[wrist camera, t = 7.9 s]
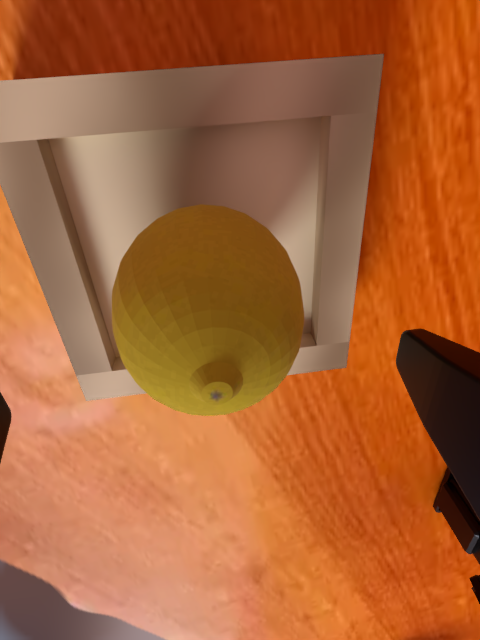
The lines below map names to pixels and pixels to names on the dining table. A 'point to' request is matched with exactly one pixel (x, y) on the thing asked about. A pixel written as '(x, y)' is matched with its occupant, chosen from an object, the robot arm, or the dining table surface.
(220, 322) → the lemon
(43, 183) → the base
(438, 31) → the dining table surface
